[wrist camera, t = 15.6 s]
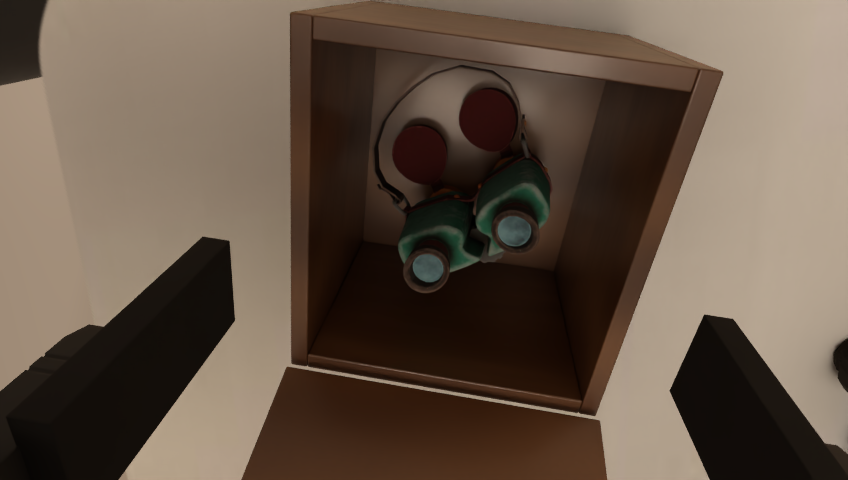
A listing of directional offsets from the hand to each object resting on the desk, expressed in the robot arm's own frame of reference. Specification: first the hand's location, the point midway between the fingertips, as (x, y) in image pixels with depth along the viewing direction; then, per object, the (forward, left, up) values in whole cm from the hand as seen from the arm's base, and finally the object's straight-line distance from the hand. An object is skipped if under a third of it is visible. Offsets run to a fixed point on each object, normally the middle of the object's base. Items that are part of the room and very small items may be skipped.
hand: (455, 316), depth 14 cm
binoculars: (0, -1, -19) cm, 19 cm away
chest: (+1, 0, -19) cm, 19 cm away
